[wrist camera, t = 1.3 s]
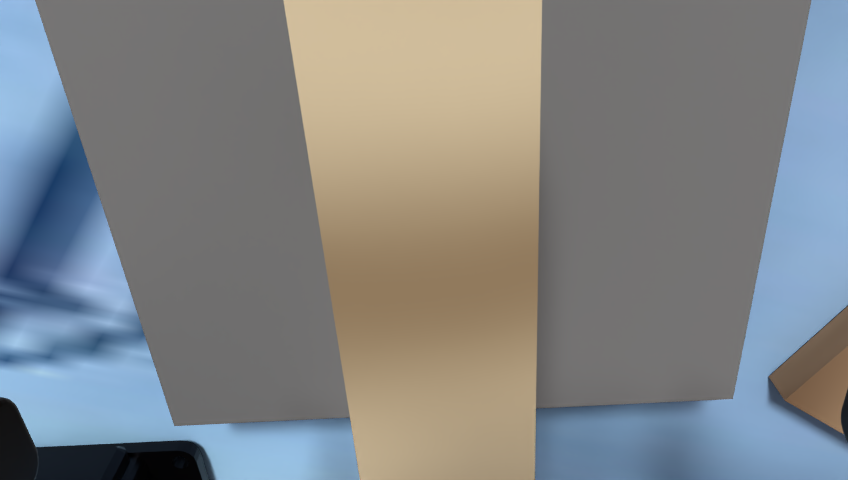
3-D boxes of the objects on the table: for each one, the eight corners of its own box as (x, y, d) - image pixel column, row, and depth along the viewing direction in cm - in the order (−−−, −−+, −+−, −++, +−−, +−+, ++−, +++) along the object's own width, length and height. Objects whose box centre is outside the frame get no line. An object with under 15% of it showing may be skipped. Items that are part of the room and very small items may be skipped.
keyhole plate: (697, 337, 19) (732, 399, 17) (202, 362, 20) (174, 425, 17) (794, -288, 12) (874, -322, 10) (36, -225, 13) (-45, -244, 11)
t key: (498, 254, 18) (550, 535, 10) (384, 261, 18) (354, 543, 10) (492, -82, 14) (568, -24, 6) (346, -72, 14) (257, 0, 7)
